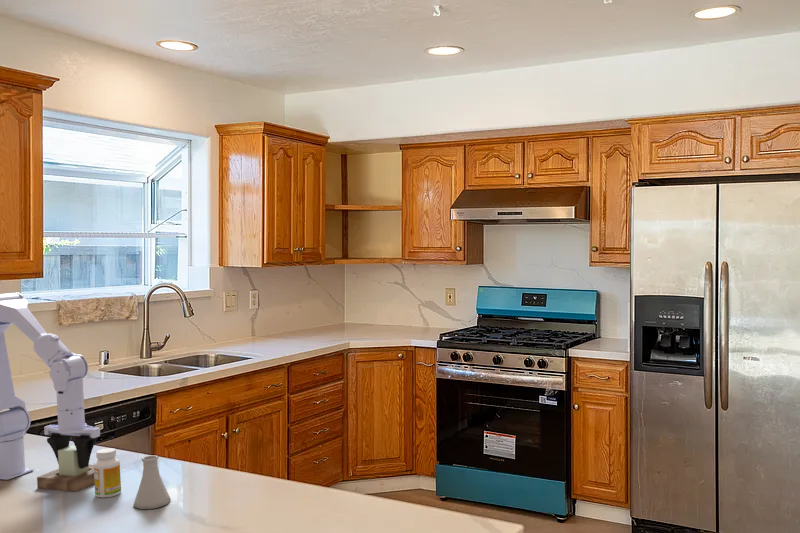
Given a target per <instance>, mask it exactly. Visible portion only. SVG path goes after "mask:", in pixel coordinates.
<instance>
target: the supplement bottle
mask: <svg viewBox="0 0 800 533" xmlns="http://www.w3.org/2000/svg"><path fill="white" fill-rule="evenodd" d="M116 450H117V449H116V448H112V447H110V448H108V447H107V448H102V449H98V450H97V451H96V459H97V460H95V461H94V463H93V465H94V483H95V484H94V496H95V497H97V498H99V497H100V499H101V498H103V499H105V498H113V497H115V496H118V495H120V494H121V492H122V481H121V479H122V478H121V463H120V459H118V458H116V456H117V453H116V452H117V451H116Z"/></svg>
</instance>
